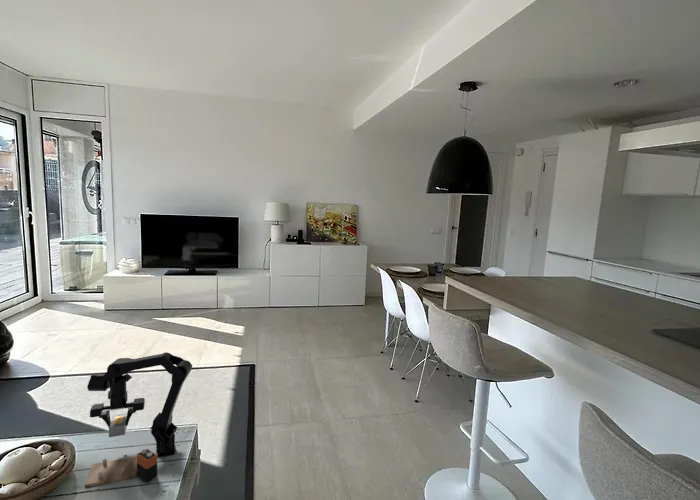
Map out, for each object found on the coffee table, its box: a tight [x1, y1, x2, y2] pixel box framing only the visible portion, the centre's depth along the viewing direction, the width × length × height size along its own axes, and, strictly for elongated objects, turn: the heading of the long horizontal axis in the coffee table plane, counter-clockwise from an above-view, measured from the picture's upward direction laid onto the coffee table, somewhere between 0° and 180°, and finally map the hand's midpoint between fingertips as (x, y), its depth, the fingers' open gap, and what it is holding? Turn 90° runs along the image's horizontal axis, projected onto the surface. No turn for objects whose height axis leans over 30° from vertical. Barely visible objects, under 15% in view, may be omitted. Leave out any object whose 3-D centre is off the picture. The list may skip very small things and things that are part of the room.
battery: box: [136, 448, 158, 484], centre depth 144 cm, size 4×7×10 cm, turn 57°
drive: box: [108, 412, 128, 438], centre depth 156 cm, size 10×6×4 cm, turn 24°
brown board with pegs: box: [84, 454, 137, 488], centre depth 146 cm, size 16×12×3 cm
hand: (118, 426), depth 157 cm, fingers closed on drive, 5 cm apart
